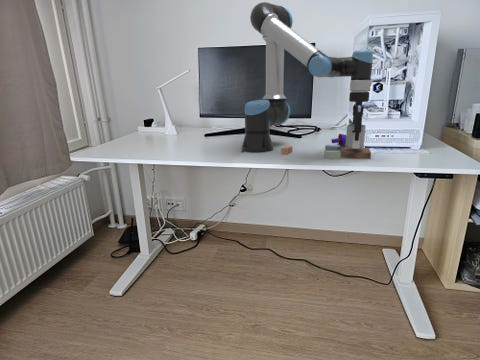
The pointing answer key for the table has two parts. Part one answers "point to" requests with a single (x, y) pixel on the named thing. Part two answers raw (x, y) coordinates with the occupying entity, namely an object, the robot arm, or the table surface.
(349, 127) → the cup
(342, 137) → the toy
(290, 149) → the brick terracotta
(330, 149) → the brick blue
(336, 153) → the brick sage
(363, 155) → the slab
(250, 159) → the table surface
